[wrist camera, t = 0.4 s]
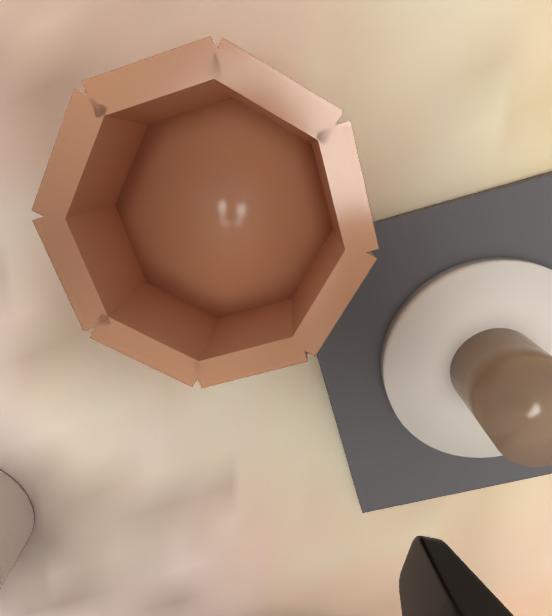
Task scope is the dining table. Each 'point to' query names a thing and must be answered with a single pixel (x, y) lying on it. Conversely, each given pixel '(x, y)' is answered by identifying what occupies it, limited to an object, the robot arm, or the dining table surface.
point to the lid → (476, 361)
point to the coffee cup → (13, 523)
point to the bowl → (206, 214)
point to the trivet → (381, 310)
